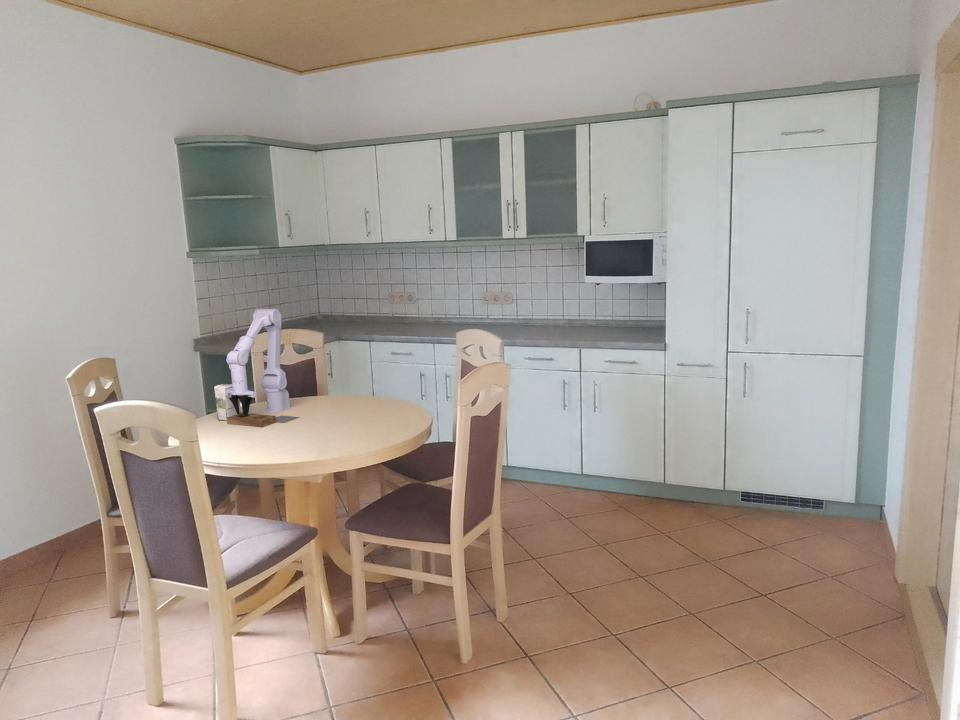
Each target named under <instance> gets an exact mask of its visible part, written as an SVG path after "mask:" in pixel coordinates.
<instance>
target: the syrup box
mask: <svg viewBox="0 0 960 720" xmlns="http://www.w3.org/2000/svg"><path fill="white" fill-rule="evenodd" d="M213 389H214V397H215V405H216V415H217V421H221V422H223V421H224V422H227V417H230V416H233V415H236V414H237V412H236V410H235V407H234V405H233V403H232V402H231V401H230V399H229V398H230V397H231V396H232V395H228V396H226V394H225V391H226V390H233V388H232V383H230V384H228V383H221V384H217V385H215V386H214V387H213Z"/></svg>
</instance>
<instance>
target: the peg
mask: <svg viewBox="0 0 960 720" xmlns="http://www.w3.org/2000/svg"><path fill="white" fill-rule="evenodd" d="M240 398H241V397H240ZM238 408H239V417H242V418H243V417H246V416H247V414H245V415H244V414H243V410H242V405H241V402H240V400H239V398H238Z"/></svg>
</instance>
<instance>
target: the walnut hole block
mask: <svg viewBox="0 0 960 720" xmlns="http://www.w3.org/2000/svg"><path fill="white" fill-rule="evenodd" d="M276 417H277V416H276V415H272V414H271V415H270V414H259V413H249V412H248V414H247V416H246V417H243V418H242V417H239V414H236V415H233V416H230V417H227V421H226V422H227V425H232V426H233V425H234V426H242V427H243V426H244V427H252V428H262V429H263V428H265V427H268V426H271V425H274V424H277V423H276Z"/></svg>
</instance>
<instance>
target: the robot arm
mask: <svg viewBox="0 0 960 720" xmlns="http://www.w3.org/2000/svg"><path fill="white" fill-rule="evenodd" d="M282 317H283V316H282V313H281V312H280V310H279V309H278V308H256V309H255V310H254V311H253V314H252V322H251V324H250V326H249V327H248V330H247V332H246V334H245V335H242V336H240V337H239V340H238V342H237V343H236V345H235V347H234V348H233V349H232V350H231V351H229V352H228V353H227V355H226V359H225V361H226V363H227V365H228V368H229V370H230V375H231V384H232V388H233V390H226V391H225V394H226V396H228V395H232V396H231V397H230V398H229V399H230V401H231V402H232V403H233V405H234V407H235V410H236V412H237V414H239V408H238V398H239V400H240V402H241V405H242V410H243V414H244V415H245V414H248V413H249V411H250V406H251V403H252V400H253V399H254V398H256V397H257V391H253V390H249V387H248V379H247V378H248V377H247V368H246V366H247V363H248V361H249V355H250V352H251V350H252V349H253V347H254V345H255V338H256V337H257V335H258V334H259V333H260V331H261V330H262V328H264V329H265V330H266V331H267V351H266V352H267V353H266V355H267V357H266V359H267V360H266V361H267V362H266V368H265V369H264V370H263V371H262V375H261V379H260V386H261V388H262V389H263V391H264V392H265V397H266V409H264V410H262V412H263V413H271V414H279V413H281V412H282V413H283V412H285V411H287V410H290V409H292V406H291V403H290V394H289V391H288V390H287V389H286V388H287V384H288V382H287V381H288V380H287V376H286V372H285V371H284V370H283V368H281V347H282V344H281V343H282V342H281V341H282V340H281V339H282V338H281V337H282ZM240 397H241V398H240Z"/></svg>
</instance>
